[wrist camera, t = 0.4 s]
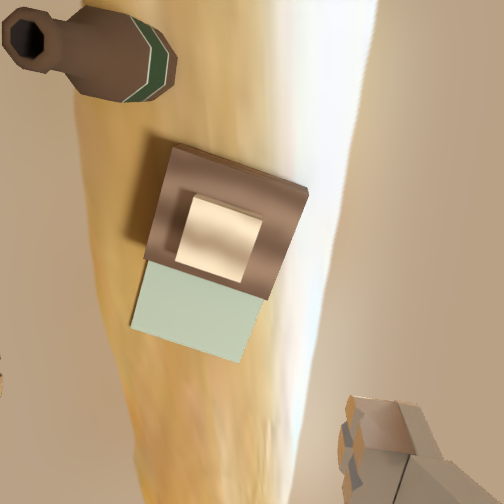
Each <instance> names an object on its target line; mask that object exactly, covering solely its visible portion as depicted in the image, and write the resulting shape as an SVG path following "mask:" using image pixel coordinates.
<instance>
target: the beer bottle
mask: <svg viewBox="0 0 504 504" xmlns="http://www.w3.org/2000/svg"><path fill="white" fill-rule="evenodd" d="M2 46H3V47H4V49H5V50H6V51H7V53H8V54H9V55H10V57H11V58H12V59H13V61H14V62H15V63H16V64H17V65H18V66H20V67H21V68H22V69H26V70H31V71H35V72H40V73H44V74H46V73H47V72H48V71H49V70H55V71H59V72H64V73H65V74H66V76H67V77H68V78H69V80H70V81H71V82H72V84H73V85H74V87H75V88H76V89H77V90H78V91H79V92H80V93H81V94H82V95H87V96H91V97H96V98H100V99H105V100H109V101H114V102H120V103H125V102H144V101H152V100H155V99H156V98H157V97H159V96H160V95H161V94H163V93H164V92H165V91H167V90H168V89H169V88H171V87H172V86H173V85H174V81H175V73H176V66H177V58H178V57H177V56H176V54H175V53H174V51H173V50H172V48H171V47H170V45H169V43H168V42H167V40H166V39H165V37H164V36H163V34H162V33H161V32H160V31H159V30H157V29H155V28H153V27H151V26H149V25H147V24H145V23H143V22H141V21H139V20H137V19H135V18H133V17H132V16H130V15H126V14H122V13H118V12H114V11H109V10H105V9H100V8H96V7H91V6H87V5H86V6H85V7H83V8H82V9H80V10H79V11H78V12H77V13H75V14H74V15H73V16H72V17H71V18H70V19H69V20H67V21H62V20H57V19H52V18H51V16H50V15H49V13H48V12H45V11H40V10H36V9H32V8H27V7H21V8H17V9H16V10H15V11H14V12H13V13H12V14H10V15H9V16H8V17H7V18H6V19H5V20H4V21H3V22H2Z"/></svg>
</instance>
